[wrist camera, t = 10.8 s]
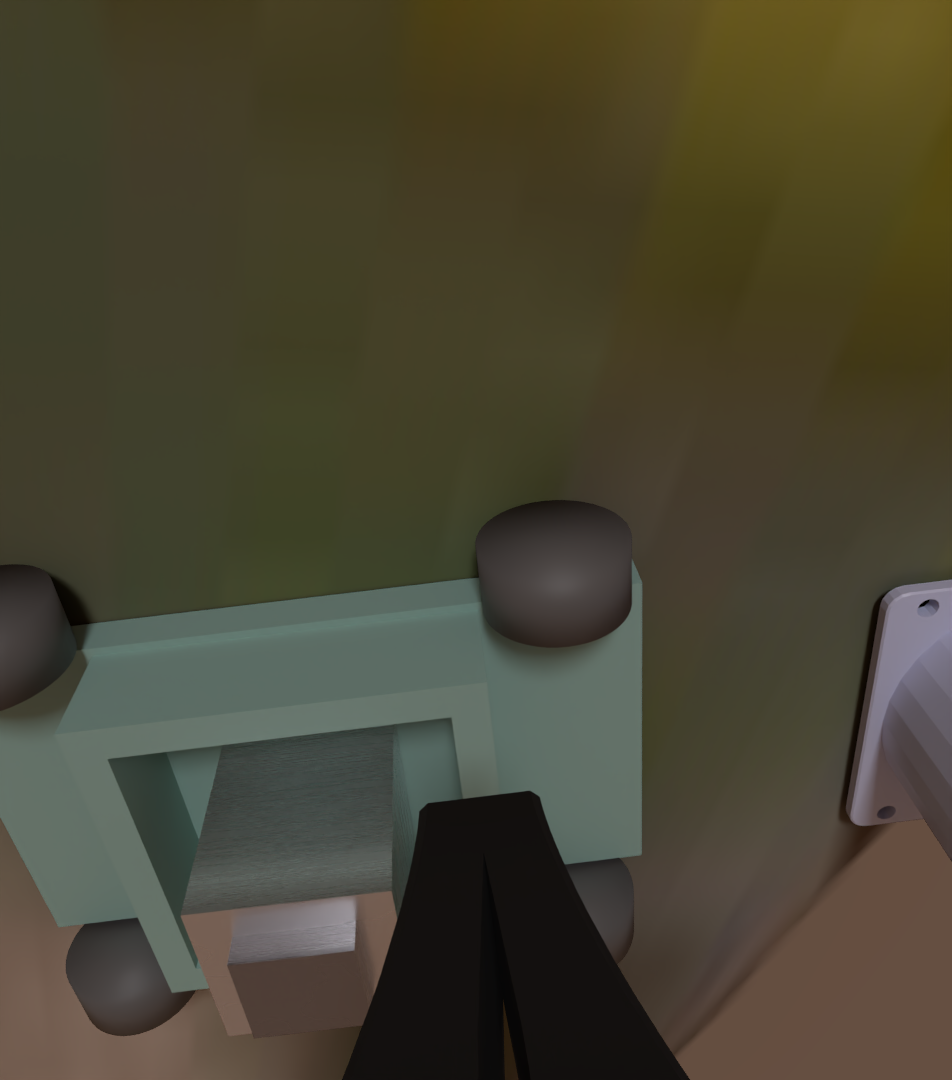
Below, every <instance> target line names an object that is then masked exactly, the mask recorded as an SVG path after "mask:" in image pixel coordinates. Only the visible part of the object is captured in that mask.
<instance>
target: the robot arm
mask: <svg viewBox="0 0 952 1080" xmlns="http://www.w3.org/2000/svg"><path fill="white" fill-rule="evenodd" d="M929 599H930V600H929ZM926 600H929V602H928V603H927V604H926V605H925V606H923V607H920V608H918V607H919V605H920V604H921V603H923V602H924V601H926ZM846 812H847V814H848V816H849V818H850V819H851V821H852V822H853V823H854V824H856V825H859V826H870V825H878V824H886V823H894V822H902V821H910V820H917V819H924V820H925V821H926V823H927V824H928V826H929V827H930V829H931V830H932V832H933V834H934V835H935V837H936V838H937V840H938V841H939V843H940V844H941V846H942V847H943V849H944V850H945V852H946V853H947V855H948V856H949V858H950V860H951V861H952V580H945V581H937V582H928V583H920V584H912V585H904V586H900V587H896V588H894V589H893V590H891V591H890V592H888V593H887V594H886V595H885V597H884V598H883V599H882V602H881V604H880V609H879V615H878V621H877V627H876V633H875V639H874V645H873V650H872V656H871V662H870V668H869V674H868V680H867V686H866V692H865V697H864V703H863V709H862V715H861V721H860V727H859V733H858V738H857V744H856V750H855V756H854V762H853V768H852V774H851V780H850V785H849V791H848V797H847V803H846ZM503 1000H504V1005H505V1010H506V1016H507V1021H508V1026H509V1031H510V1037H511V1042H512V1047H513V1052H514V1057H515V1063H516V1068H517V1073H518V1078H519V1080H690V1079H689V1078H688V1076H687V1075H686V1073H685V1072H684V1070H683V1069H682V1067H681V1066H680V1064H679V1063H678V1061H677V1060H676V1058H675V1057H674V1055H673V1054H672V1052H671V1051H670V1049H669V1048H668V1046H667V1045H666V1043H665V1042H664V1040H663V1039H662V1037H661V1036H660V1034H659V1032H658V1031H657V1029H656V1028H655V1026H654V1024H653V1023H652V1021H651V1020H650V1018H649V1016H648V1015H647V1013H646V1012H645V1010H644V1009H643V1007H642V1005H641V1004H640V1002H639V1001H638V999H637V997H636V996H635V994H634V993H633V991H632V989H631V988H630V986H629V984H628V982H627V981H626V979H625V977H624V976H623V974H622V972H621V971H620V969H619V967H618V966H617V964H616V962H615V960H614V959H613V957H612V955H611V953H610V951H609V949H608V948H607V946H606V944H605V942H604V940H603V939H602V937H601V935H600V933H599V931H598V930H597V928H596V926H595V924H594V922H593V920H592V919H591V917H590V915H589V913H588V911H587V909H586V907H585V905H584V903H583V901H582V900H581V898H580V896H579V894H578V892H577V890H576V888H575V885H574V883H573V881H572V879H571V877H570V875H569V873H568V870H567V868H566V866H565V864H564V862H563V860H562V857H561V855H560V853H559V850H558V848H557V846H556V843H555V841H554V838H553V836H552V833H551V831H550V828H549V825H548V822H547V819H546V817H545V814H544V810H543V807H542V804H541V800H540V797H539V796H538V795H536V794H535V793H533V792H531V791H523V792H514V793H506V794H498V795H490V796H482V797H474V798H466V799H457V800H449V801H441V802H433V803H427V804H426V805H425V806H424V807H423V808H422V809H421V810H420V811H419V819H418V829H417V836H416V841H415V847H414V853H413V858H412V863H411V867H410V872H409V876H408V881H407V884H406V888H405V892H404V896H403V900H402V904H401V908H400V912H399V916H398V919H397V922H396V925H395V929H394V932H393V935H392V939H391V942H390V945H389V948H388V952H387V955H386V958H385V962H384V965H383V968H382V972H381V975H380V978H379V981H378V984H377V987H376V990H375V993H374V995H373V998H372V1001H371V1004H370V1006H369V1009H368V1012H367V1015H366V1017H365V1020H364V1023H363V1026H362V1028H361V1031H360V1034H359V1036H358V1039H357V1042H356V1045H355V1047H354V1050H353V1053H352V1056H351V1058H350V1061H349V1064H348V1066H347V1069H346V1071H345V1074H344V1076H343V1079H342V1080H505V1072H504V1025H503Z"/></svg>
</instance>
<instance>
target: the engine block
mask: <svg viewBox="0 0 952 1080" xmlns="http://www.w3.org/2000/svg"><path fill="white" fill-rule="evenodd" d="M413 853H414V827H413V821H412V815H411V809H410V804H409V798H408V792H407V787H406V781H405V775H404V769H403V764H402V758H401V752H400V746H399V741H398V735H397V729H396V724H392V725H384V726H376V727H368V728H359V729H351V730H343V731H335V732H326V733H318V734H310V735H302V736H294V737H285V738H277V739H269V740H261V741H252V742H244V743H236V744H228V745H222V749H221V754H220V758H219V762H218V766H217V770H216V774H215V778H214V782H213V786H212V790H211V794H210V798H209V802H208V806H207V810H206V814H205V818H204V822H203V826H202V830H201V834H200V838H199V842H198V846H197V851H196V855H195V859H194V863H193V867H192V871H191V875H190V879H189V883H188V887H187V891H186V895H185V899H184V903H183V907H182V911H181V915H180V916H181V918H182V921H183V923H184V926H185V928H186V931H187V933H188V936H189V938H190V941H191V943H192V946H193V948H194V951H195V953H196V956H197V959H198V961H199V964H200V966H201V969H202V971H203V974H204V976H205V979H206V981H207V984H208V986H209V989H210V991H211V994H212V996H213V999H214V1001H215V1004H216V1006H217V1009H218V1011H219V1014H220V1016H221V1019H222V1021H223V1024H224V1026H225V1029H226V1031H227V1034H228V1036H235V1035H243V1034H253V1037H254V1038H261V1037H270V1036H278V1035H286V1034H295V1033H303V1032H311V1031H320V1030H328V1029H336V1028H345V1027H353V1026H362V1025H363V1023H364V1020H365V1017H366V1015H367V1012H368V1009H369V1006H370V1004H371V1001H372V998H373V995H374V993H375V990H376V987H377V984H378V981H379V978H380V975H381V972H382V968H383V965H384V962H385V958H386V955H387V952H388V948H389V945H390V942H391V939H392V935H393V932H394V929H395V925H396V922H397V919H398V916H399V912H400V908H401V904H402V900H403V896H404V892H405V888H406V884H407V881H408V876H409V872H410V867H411V863H412V858H413Z"/></svg>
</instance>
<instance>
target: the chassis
mask: <svg viewBox="0 0 952 1080" xmlns="http://www.w3.org/2000/svg"><path fill="white" fill-rule="evenodd" d="M476 555H477V564H478V573H479V578H471V579H462V580H454V581H445V582H437V583H429V584H420V585H412V586H403V587H395V588H387V589H378V590H370V591H362V592H353V593H345V594H336V595H328V596H320V597H311V598H303V599H294V600H286V601H278V602H269V603H261V604H253V605H244V606H236V607H227V608H219V609H211V610H202V611H194V612H186V613H177V614H169V615H160V616H152V617H144V618H135V619H127V620H118V621H110V622H102V623H93V624H85V625H77V626H70V624H69V621H68V619H67V617H66V614H65V612H64V609H63V607H62V604H61V602H60V599H59V597H58V595H57V592H56V590H55V587H54V585H53V582H52V580H51V578H50V576H49V575H48V574H47V573H46V572H45V571H44V570H42V569H40V568H37V567H34V566H28V565H0V818H1V819H2V821H3V823H4V825H5V827H6V829H7V831H8V833H9V834H10V836H11V838H12V840H13V842H14V844H15V846H16V848H17V849H18V851H19V853H20V855H21V857H22V859H23V861H24V863H25V865H26V866H27V868H28V870H29V872H30V874H31V876H32V878H33V880H34V881H35V883H36V885H37V887H38V889H39V891H40V893H41V895H42V896H43V898H44V900H45V902H46V904H47V906H48V908H49V910H50V911H51V913H52V915H53V917H54V919H55V921H56V923H57V925H58V927H64V926H72V925H80V924H84V926H83V927H82V928H81V929H80V931H79V932H78V933H77V935H76V936H75V938H74V940H73V942H72V944H71V946H70V948H69V951H68V954H67V959H66V974H67V978H68V980H69V983H70V984H71V986H72V988H73V990H74V992H75V994H76V995H77V997H78V999H79V1001H80V1003H81V1004H82V1006H83V1008H84V1010H85V1012H86V1014H87V1015H88V1017H89V1019H90V1020H91V1022H92V1023H93V1024H94V1025H95V1026H96V1027H97V1028H98V1029H100V1030H101V1031H103V1032H105V1033H108V1034H111V1035H116V1036H130V1035H136V1034H140V1033H143V1032H146V1031H149V1030H151V1029H154V1028H156V1027H158V1026H159V1025H161V1024H163V1023H164V1022H166V1021H167V1020H169V1019H170V1018H172V1017H173V1016H174V1015H175V1014H177V1013H178V1012H179V1011H180V1010H181V1009H182V1008H183V1007H184V1006H185V1005H186V1003H187V1002H188V1001H189V1000H190V998H191V997H192V995H193V994H194V993H195V991H196V990H199V989H207V988H209V986H208V984H207V981H206V979H205V976H204V974H203V971H202V969H201V966H200V964H199V961H198V959H197V956H196V953H195V951H194V948H193V946H192V943H191V941H190V938H189V936H188V933H187V931H186V928H185V926H184V923H183V921H182V918H181V916H180V915H181V911H182V907H183V903H184V899H185V895H186V891H187V887H188V883H189V879H190V875H191V871H192V867H193V863H194V859H195V855H196V851H197V846H198V842H199V838H200V834H201V830H202V826H203V822H204V818H205V814H206V810H207V806H208V802H209V798H210V794H211V790H212V786H213V782H214V778H215V774H216V770H217V766H218V762H219V758H220V754H221V749H222V745H228V744H236V743H244V742H252V741H261V740H269V739H277V738H285V737H294V736H302V735H310V734H318V733H326V732H335V731H343V730H351V729H359V728H368V727H376V726H384V725H392V724H396V729H397V735H398V741H399V746H400V752H401V758H402V764H403V769H404V775H405V781H406V787H407V792H408V798H409V804H410V809H411V815H412V821H413V827H414V847H415V841H416V836H417V829H418V819H419V811H420V810H421V809H422V808H423V807H424V806H425V805H426V804H427V803H433V802H441V801H449V800H457V799H466V798H474V797H482V796H490V795H498V794H506V793H514V792H523V791H531V792H533V793H535V794H536V795H538V796H539V797H540V800H541V804H542V807H543V810H544V814H545V817H546V819H547V822H548V825H549V828H550V831H551V833H552V836H553V838H554V841H555V843H556V846H557V848H558V850H559V853H560V855H561V857H562V860H563V862H564V864H565V866H566V868H567V870H568V873H569V875H570V877H571V879H572V881H573V883H574V885H575V888H576V890H577V892H578V894H579V896H580V898H581V900H582V901H583V903H584V905H585V907H586V909H587V911H588V913H589V915H590V917H591V919H592V920H593V922H594V924H595V926H596V928H597V930H598V931H599V933H600V935H601V937H602V939H603V940H604V942H605V944H606V946H607V948H608V949H609V951H610V953H611V955H612V957H613V959H614V960H615V962H616V964H618V963H619V962H620V961H621V960H622V959H623V958H624V957H625V955H626V954H627V952H628V950H629V948H630V946H631V943H632V939H633V933H634V891H633V882H632V878H631V875H630V873H629V871H628V869H627V867H626V866H625V864H624V863H623V862H622V860H621V859H620V858H621V857H629V856H637V855H642V581H641V579H640V577H639V574H638V572H637V570H636V567H635V565H634V563H633V560H632V535H631V531H630V528H629V526H628V525H627V523H626V522H625V521H624V520H623V519H622V518H621V517H620V516H618V515H617V514H615V513H614V512H612V511H610V510H608V509H606V508H603V507H600V506H597V505H594V504H590V503H585V502H579V501H567V500H552V501H541V502H534V503H529V504H525V505H521V506H518V507H515V508H512V509H509V510H507V511H505V512H502V513H500V514H499V515H497V516H495V517H494V518H492V519H491V520H490V521H488V522H487V523H486V524H485V525H484V526H483V527H482V528H481V530H480V531H479V533H478V535H477V538H476Z"/></svg>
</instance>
